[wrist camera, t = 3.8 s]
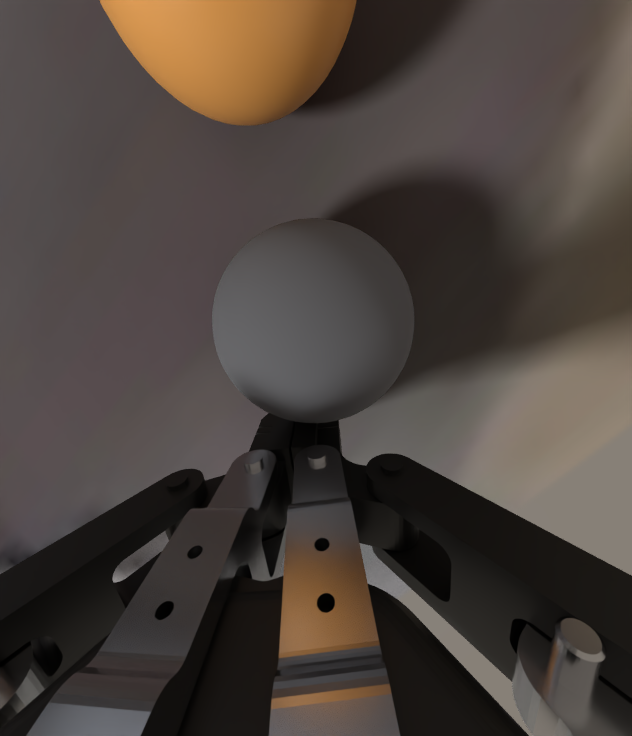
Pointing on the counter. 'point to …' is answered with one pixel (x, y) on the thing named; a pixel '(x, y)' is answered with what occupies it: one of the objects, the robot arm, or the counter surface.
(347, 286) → the cue ball
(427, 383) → the counter surface
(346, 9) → the object ball
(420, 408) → the counter surface
